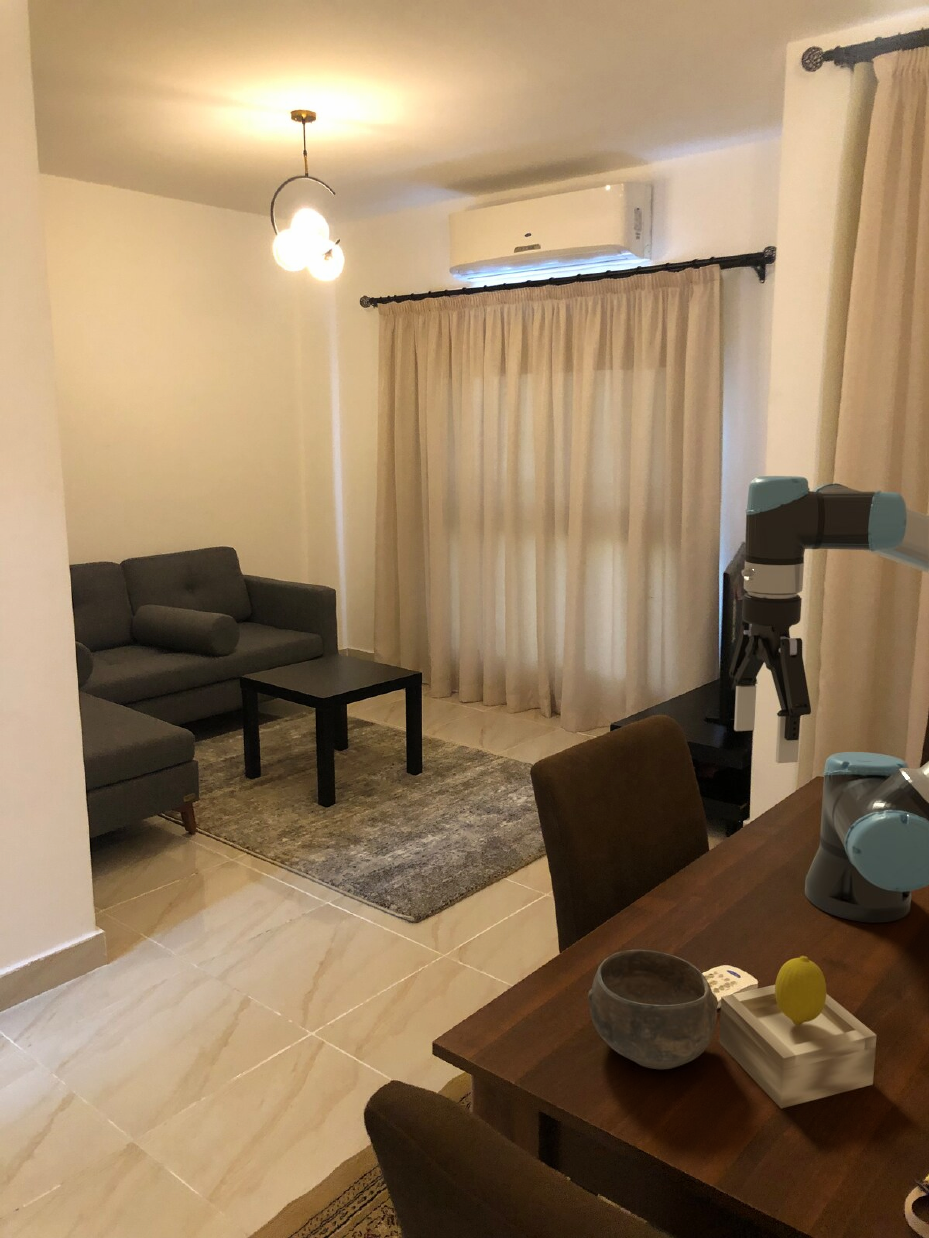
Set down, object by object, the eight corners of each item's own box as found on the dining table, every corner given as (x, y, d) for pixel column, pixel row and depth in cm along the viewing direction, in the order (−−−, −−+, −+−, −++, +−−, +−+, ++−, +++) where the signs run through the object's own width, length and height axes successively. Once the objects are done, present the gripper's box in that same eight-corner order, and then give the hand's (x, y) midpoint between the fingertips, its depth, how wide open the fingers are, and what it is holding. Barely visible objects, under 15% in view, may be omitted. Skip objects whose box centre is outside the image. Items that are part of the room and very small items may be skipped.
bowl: (695, 1108, 105) (699, 1025, 103) (564, 1065, 113) (564, 986, 111) (728, 1038, 117) (732, 962, 115) (607, 1002, 125) (609, 930, 123)
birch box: (804, 1025, 120) (807, 977, 119) (872, 1087, 109) (876, 1034, 107) (719, 1045, 116) (721, 996, 115) (780, 1111, 105) (783, 1058, 104)
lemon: (831, 1036, 109) (839, 966, 109) (785, 1035, 108) (793, 965, 108) (806, 1014, 115) (814, 947, 114) (762, 1013, 114) (770, 946, 113)
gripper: (710, 579, 142) (704, 719, 146) (787, 612, 117) (778, 778, 122) (759, 577, 143) (752, 716, 147) (846, 609, 118) (835, 775, 123)
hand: (764, 745), depth 134 cm, fingers open, 13 cm apart
